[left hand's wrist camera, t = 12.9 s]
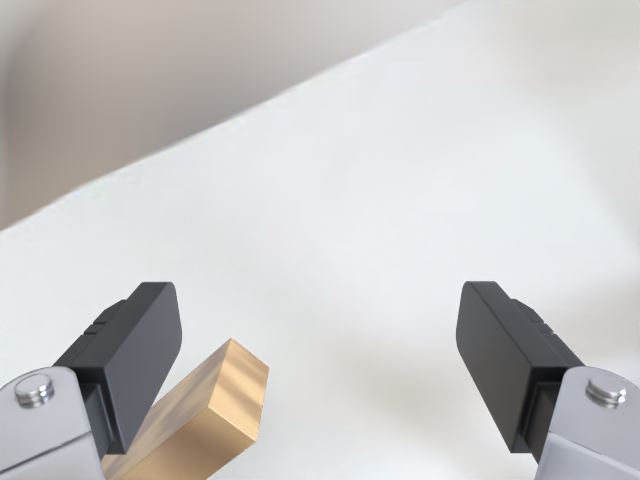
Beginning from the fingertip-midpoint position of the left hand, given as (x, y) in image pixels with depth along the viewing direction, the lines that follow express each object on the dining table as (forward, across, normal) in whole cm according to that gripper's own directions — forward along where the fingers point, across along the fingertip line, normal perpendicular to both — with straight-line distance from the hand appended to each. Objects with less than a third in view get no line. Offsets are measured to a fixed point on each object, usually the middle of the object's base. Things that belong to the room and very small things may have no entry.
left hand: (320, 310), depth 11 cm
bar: (+19, -15, -25) cm, 35 cm away
